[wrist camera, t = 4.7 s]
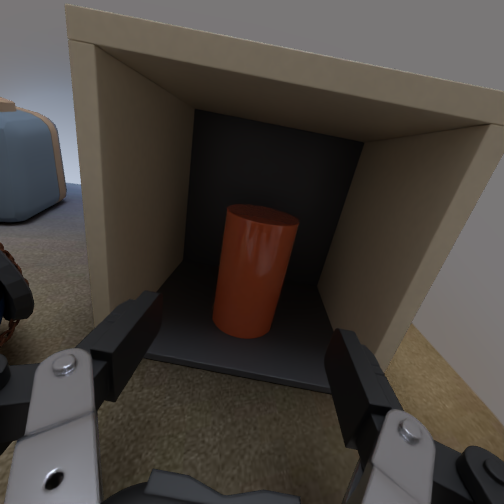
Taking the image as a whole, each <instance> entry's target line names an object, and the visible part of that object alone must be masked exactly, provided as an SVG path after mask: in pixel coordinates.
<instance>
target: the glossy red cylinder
mask: <svg viewBox="0 0 504 504" xmlns="http://www.w3.org/2000/svg"><path fill="white" fill-rule="evenodd" d="M299 224H300V221H299V220H298V219H297V218H296V217H294V216H293V215H290V214H288V213H286V212H283V211H280V210H276V209H273V208H269V207H264V206H258V205H250V204H233V205H229V206H228V207H227V209H226V216H225V223H224V230H223V237H222V244H221V251H220V258H219V265H218V272H217V279H216V286H215V293H214V300H213V307H212V319H213V322H214V323H215V325H216V326H217V327H218V328H219V329H220V330H221V331H223V332H224V333H226V334H228V335H231V336H233V337H237V338H243V339H253V338H258V337H261V336H263V335H265V334H266V333H268V332H269V331H270V329H271V328H272V325H273V321H274V318H275V314H276V310H277V306H278V303H279V299H280V295H281V291H282V288H283V284H284V280H285V277H286V273H287V269H288V265H289V262H290V258H291V254H292V250H293V247H294V243H295V239H296V235H297V232H298V228H299Z"/></svg>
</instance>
